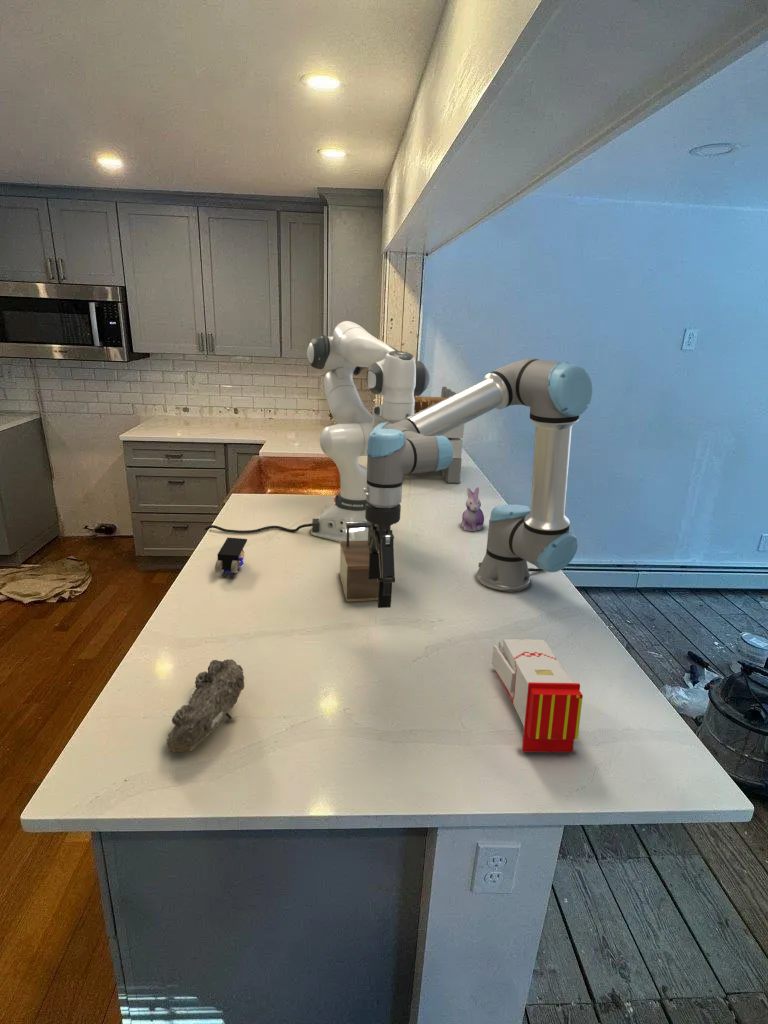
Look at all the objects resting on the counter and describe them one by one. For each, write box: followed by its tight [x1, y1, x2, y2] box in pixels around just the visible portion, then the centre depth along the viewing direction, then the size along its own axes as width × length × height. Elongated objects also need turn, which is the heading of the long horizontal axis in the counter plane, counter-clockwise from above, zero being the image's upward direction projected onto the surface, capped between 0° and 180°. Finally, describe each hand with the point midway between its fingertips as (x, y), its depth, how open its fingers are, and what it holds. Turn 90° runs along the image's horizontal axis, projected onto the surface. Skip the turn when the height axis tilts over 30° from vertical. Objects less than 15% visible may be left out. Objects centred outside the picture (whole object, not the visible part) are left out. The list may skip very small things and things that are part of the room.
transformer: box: [414, 386, 465, 484], centre depth 268 cm, size 34×33×41 cm
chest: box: [339, 546, 379, 603], centre depth 159 cm, size 17×10×9 cm, turn 10°
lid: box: [339, 521, 371, 570], centre depth 157 cm, size 17×10×9 cm, turn 10°
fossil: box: [166, 658, 245, 754], centre depth 106 cm, size 22×10×15 cm
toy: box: [491, 638, 584, 753], centre depth 114 cm, size 12×13×30 cm
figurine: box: [461, 486, 485, 532], centre depth 206 cm, size 9×10×15 cm
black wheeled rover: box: [214, 537, 248, 578], centre depth 166 cm, size 7×8×15 cm
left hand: (396, 459), depth 163 cm, fingers open, 8 cm apart
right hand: (379, 592), depth 128 cm, fingers open, 13 cm apart
